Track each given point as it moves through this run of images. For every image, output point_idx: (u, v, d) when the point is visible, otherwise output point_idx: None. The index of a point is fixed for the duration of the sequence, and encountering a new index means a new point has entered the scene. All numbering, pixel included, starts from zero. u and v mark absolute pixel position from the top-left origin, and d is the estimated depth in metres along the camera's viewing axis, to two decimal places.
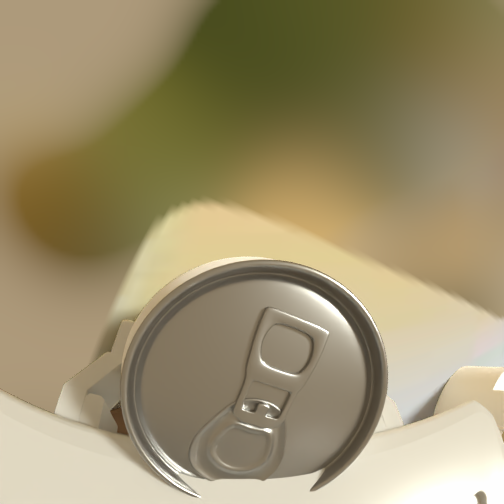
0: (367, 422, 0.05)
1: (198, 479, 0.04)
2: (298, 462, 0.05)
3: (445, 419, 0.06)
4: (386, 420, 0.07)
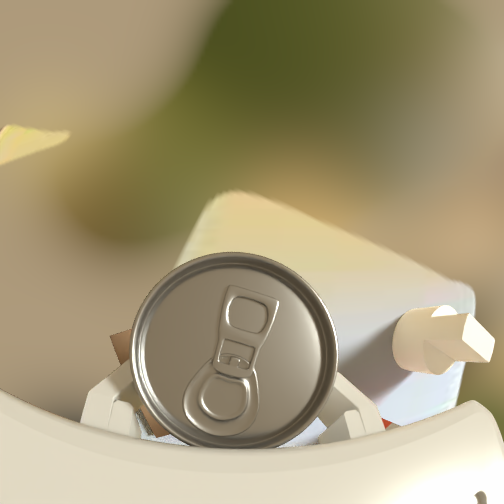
0: (329, 375, 0.07)
1: (198, 479, 0.04)
2: (273, 411, 0.06)
3: (445, 419, 0.06)
4: (366, 425, 0.07)
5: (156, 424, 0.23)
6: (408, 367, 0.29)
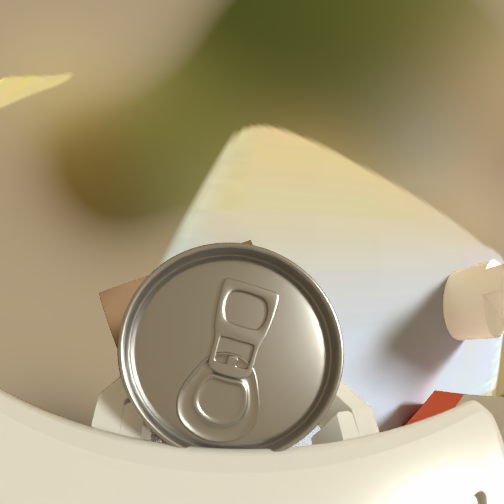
0: (333, 374, 0.06)
1: (198, 479, 0.04)
2: (274, 414, 0.06)
3: (445, 419, 0.06)
4: (359, 426, 0.07)
5: None
6: (462, 334, 0.23)
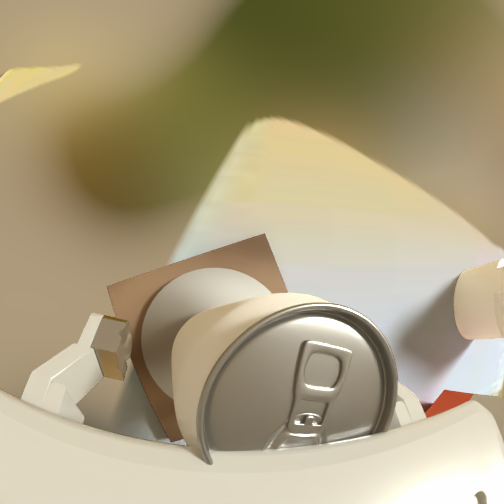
0: (384, 414, 0.06)
1: (198, 479, 0.04)
2: None
3: (445, 419, 0.06)
4: (411, 413, 0.07)
5: (172, 421, 0.15)
6: (472, 333, 0.22)
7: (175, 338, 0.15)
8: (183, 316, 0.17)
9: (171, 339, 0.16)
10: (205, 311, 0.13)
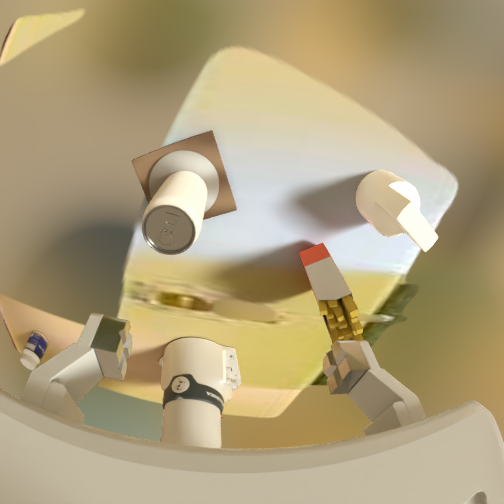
0: (194, 237, 0.27)
1: (198, 479, 0.04)
2: (178, 244, 0.28)
3: (445, 419, 0.06)
4: (411, 413, 0.07)
5: None
6: (364, 216, 0.40)
7: None
8: (168, 173, 0.35)
9: None
10: (168, 180, 0.31)
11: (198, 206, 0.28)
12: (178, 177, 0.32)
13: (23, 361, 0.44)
